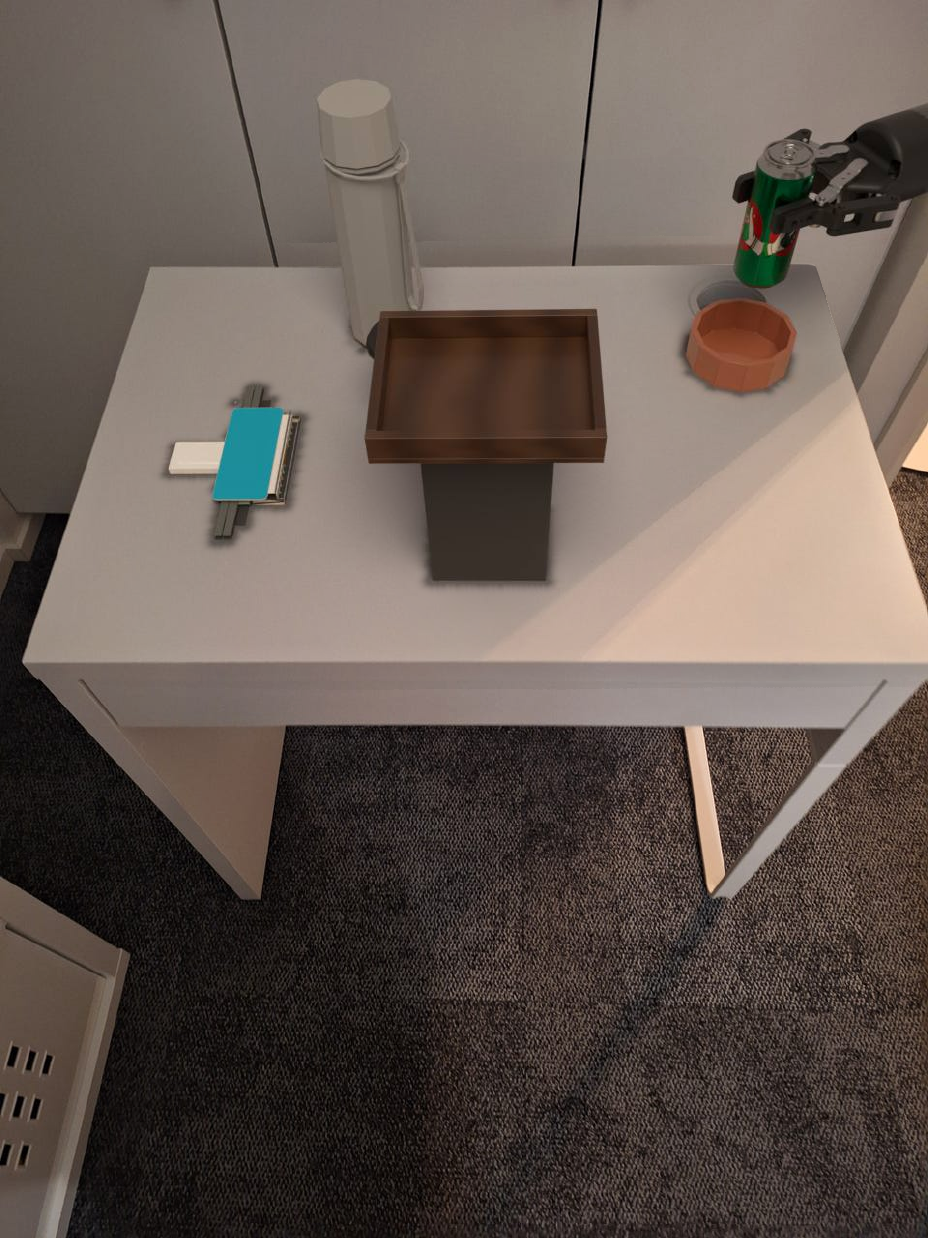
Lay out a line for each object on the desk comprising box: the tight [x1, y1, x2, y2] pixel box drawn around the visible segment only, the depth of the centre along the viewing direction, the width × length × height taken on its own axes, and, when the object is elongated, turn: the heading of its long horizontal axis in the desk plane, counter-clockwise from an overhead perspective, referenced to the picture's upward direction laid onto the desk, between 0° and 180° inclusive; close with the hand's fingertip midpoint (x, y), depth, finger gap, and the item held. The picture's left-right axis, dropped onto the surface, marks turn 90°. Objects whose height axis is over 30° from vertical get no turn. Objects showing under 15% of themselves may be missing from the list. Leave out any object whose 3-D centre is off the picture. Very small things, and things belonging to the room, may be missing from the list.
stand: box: [420, 463, 555, 582], centre depth 76 cm, size 10×8×18 cm
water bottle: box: [316, 78, 425, 347], centre depth 89 cm, size 9×8×25 cm
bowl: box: [685, 297, 798, 393], centre depth 94 cm, size 10×10×4 cm
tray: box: [364, 308, 608, 465], centre depth 67 cm, size 17×14×2 cm
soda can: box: [732, 138, 817, 290], centre depth 83 cm, size 5×5×12 cm
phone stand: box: [168, 384, 302, 541], centre depth 90 cm, size 20×12×2 cm, turn 178°
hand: (754, 206), depth 80 cm, fingers closed on soda can, 5 cm apart
